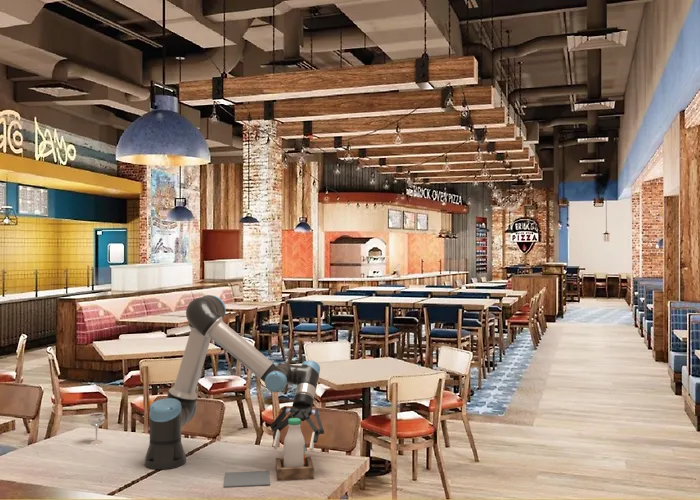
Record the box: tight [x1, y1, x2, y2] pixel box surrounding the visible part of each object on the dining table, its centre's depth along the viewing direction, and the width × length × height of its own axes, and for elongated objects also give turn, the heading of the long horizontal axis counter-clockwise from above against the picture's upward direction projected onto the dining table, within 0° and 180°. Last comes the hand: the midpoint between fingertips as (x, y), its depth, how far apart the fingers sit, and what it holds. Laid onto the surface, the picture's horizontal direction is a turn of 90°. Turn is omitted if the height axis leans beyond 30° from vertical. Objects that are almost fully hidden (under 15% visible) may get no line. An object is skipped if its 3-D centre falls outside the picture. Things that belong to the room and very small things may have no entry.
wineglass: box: [87, 411, 106, 445], centre depth 289 cm, size 7×7×12 cm
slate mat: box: [223, 470, 271, 489], centre depth 245 cm, size 16×14×1 cm
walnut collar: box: [275, 455, 315, 481], centre depth 251 cm, size 13×13×4 cm
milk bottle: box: [283, 418, 306, 468], centre depth 251 cm, size 8×8×20 cm
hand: (292, 448), depth 249 cm, fingers open, 13 cm apart
